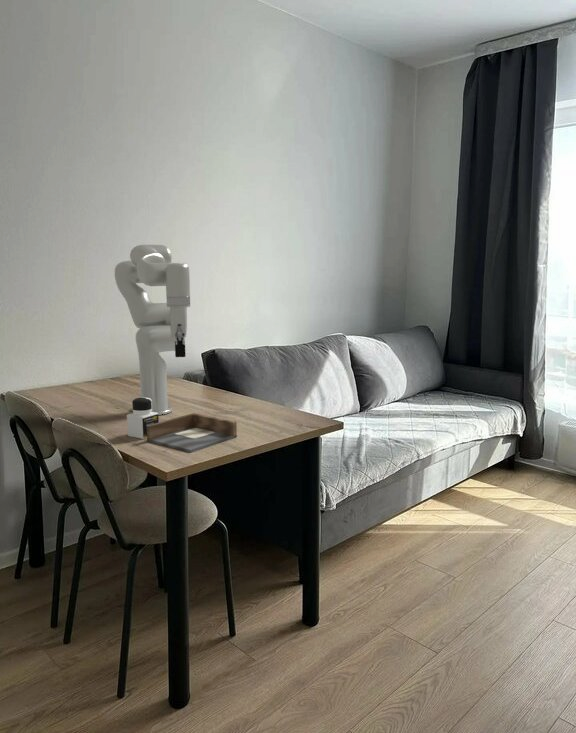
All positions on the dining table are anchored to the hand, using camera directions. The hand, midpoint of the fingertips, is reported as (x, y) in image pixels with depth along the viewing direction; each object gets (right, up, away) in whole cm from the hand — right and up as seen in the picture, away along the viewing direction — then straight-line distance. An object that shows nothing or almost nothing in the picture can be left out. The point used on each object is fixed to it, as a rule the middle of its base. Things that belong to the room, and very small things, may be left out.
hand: (180, 354), depth 205 cm
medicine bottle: (-11, -26, -4) cm, 29 cm away
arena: (+5, -27, -9) cm, 28 cm away
